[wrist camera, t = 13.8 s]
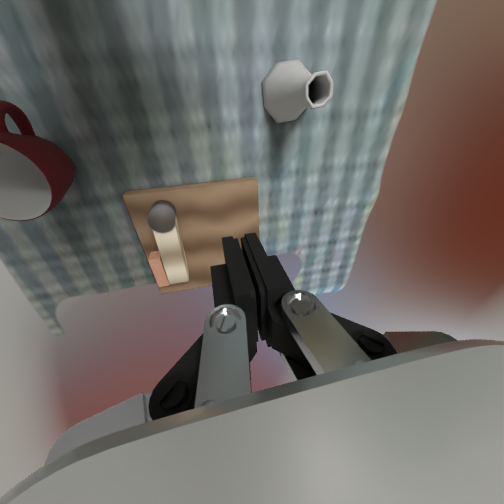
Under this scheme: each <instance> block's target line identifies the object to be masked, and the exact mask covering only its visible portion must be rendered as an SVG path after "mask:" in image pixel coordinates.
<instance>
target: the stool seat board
mask: <svg viewBox="0 0 504 504" xmlns="http://www.w3.org/2000/svg"><path fill="white" fill-rule="evenodd" d="M122 197H123V199H124V202H125V204H126V207H127V209H128V212H129V214H130V217H131V219H132V222H133V224H134V227H135V229H136V232H137V234H138V237H139V239H140V242H141V244H142V247H143V249H144V252H145V254H146V257H147V260H148V259H149V255H150V252H154V251H159V249H158V246H157V243H156V239H155V236H154V233H153V230H152V228H151V227H150V226H149V224H148V221H147V219H148V215H149V213H150V210H151V207H152V205H153V204H154V203H155V202H156V201H159V200H166V201H169V202H171V203H172V204H173V205H174V206H175V208H176V217H177V222H178V226H179V230H180V234H181V239H182V243H183V247H184V251H185V256H186V260H187V264H188V268H189V281H188V282H181V283H175V284H169V285H168V286H163V287H159V286H158V287H159V289H160V292H161V294H167V293H173V292H178V291H184V290H189V289H194V288H200V287H205V286H210V285H212V278H211V269H210V266H215V265H221V264H225V258H224V251H223V245H222V237H228V236H233V238H234V239H235V238H238V241H239V244H240V247H241V237H244V234H248V233H254V232H256V234H257V236H258V238H259V210H258V180H257V179H256V178H255V177H249V178H240V179H231V180H222V181H213V182H204V183H195V184H186V185H177V186H169V187H160V188H151V189H142V190H133V191H125V193H124V194H123V196H122ZM148 262H149V261H148ZM149 265H150V264H149ZM150 267H151V266H150ZM151 270H152V269H151ZM152 272H153V271H152ZM153 275H154V274H153ZM154 277H155V276H154ZM155 280H156V279H155ZM156 282H157V281H156ZM157 285H158V284H157Z"/></svg>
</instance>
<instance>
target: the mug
mask: <svg viewBox="0 0 504 504" xmlns="http://www.w3.org/2000/svg"><path fill="white" fill-rule="evenodd" d="M6 113H8V114H9V115H10V117H11V118H12V119H13V120H14V122H15V123H16V125H17V126H18V128H19V130H20V131H21V134H22V135H19V134H12V133H10V132H9V131H8V130H7V127H6V124H5V114H6ZM73 178H74V168H73V164H72V162H71V160H70V158H69V157H68V155H67V154H66V153H65V152H64V151H63V150H62V149H61V148H59V147H58V146H56V145H55V144H53V143H52V142H50V141H47V140H45V139H43V138H40V137H38V136H36V135H35V133H34V131H33V128H32V126H31V124H30V122H29V120H28V118H27V116H26V115H25V114H24V112H23V111H22V110H21V109H19V108H18V107H17V106H16V105H14V104H12V103H9V102H6V101H0V218H2V219H7V220H14V221H26V220H32V219H35V218H38V217H40V216H42V215H44V214H45V213H47V212H48V211H50V210H51V209H52V208H54V207H55V206H56V205H57V204H58V203H59V202H60V201H61V200H62V198H63V197H64V195H65V193H66V192H67V190H68V189H69V187H70V185H71V183H72V181H73Z"/></svg>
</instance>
